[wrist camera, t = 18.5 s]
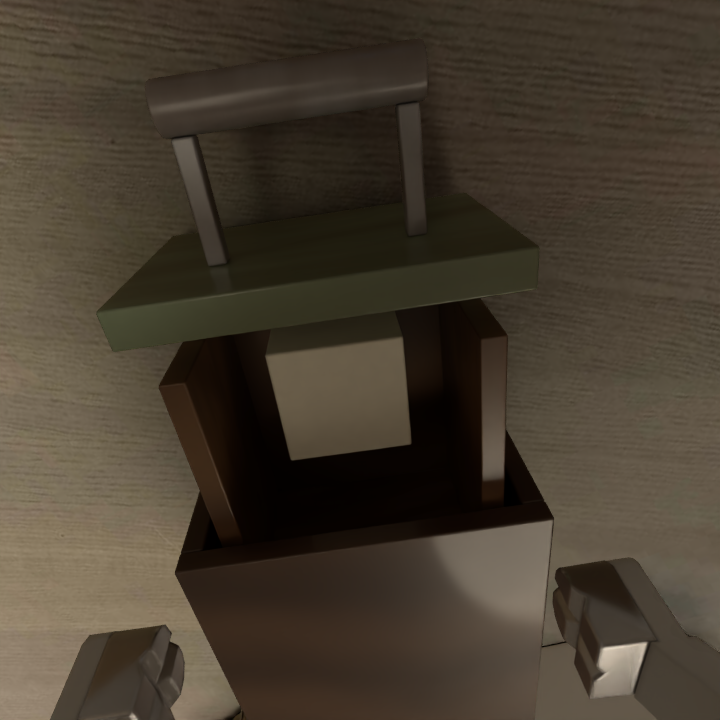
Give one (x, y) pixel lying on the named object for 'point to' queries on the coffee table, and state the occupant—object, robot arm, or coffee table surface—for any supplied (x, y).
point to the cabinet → (382, 613)
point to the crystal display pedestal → (577, 692)
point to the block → (340, 385)
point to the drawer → (325, 309)
